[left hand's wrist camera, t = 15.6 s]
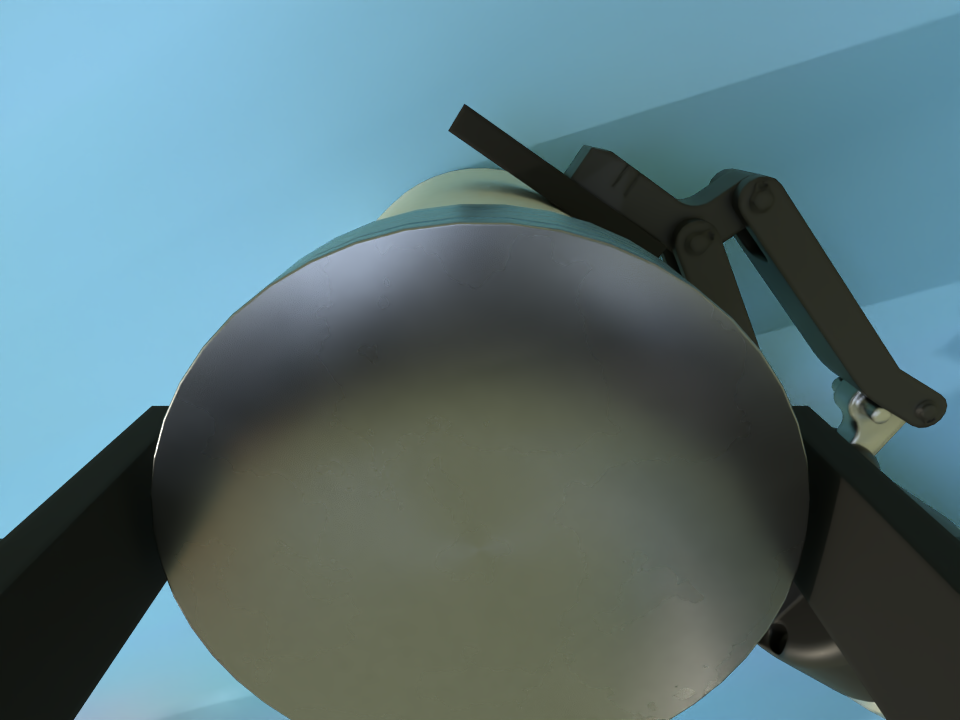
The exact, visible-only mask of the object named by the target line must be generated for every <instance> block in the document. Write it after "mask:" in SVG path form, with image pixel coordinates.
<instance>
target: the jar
mask: <svg viewBox="0 0 960 720" xmlns="http://www.w3.org/2000/svg"><path fill="white" fill-rule="evenodd" d="M458 204H505V205H512V206H519V207H526V208H533V209H540V210H547V211H551V212H555V213H558V214H562V215H565V216H569V217H572V216H571V215H569V214H568V213H566V212H565V211H563V210H562V209H561V208H559V207H558V206H556V205H555V204H553V203H552V202H550V201H549V200H548V199H546V198H545V197H543V196H542V195H540V194H539V193H537V192H536V191H535V190H533V189H532V188H530V187H529V186H527V185H526V184H524V183H523V182H522V181H520V180H519V179H517V178H516V177H514V176H513V175H511V174H510V173H509V172H507V171H504V170H497V169H488V168H474V169H463V170H457V171H451V172H448V173H444V174H441V175H438V176H435V177H433V178H430V179H428V180H426V181H424V182H422V183H420V184H418V185H417V186H415V187H413V188H412V189H410V190H409V191H407V192H406V193H404V194H403V195H402V196H401V197H400V198H399V199H397V200H396V201H395V202H394V203H393V204H392V205H391V206H390V207H389V208H388V209H387V210H386V211H385V212H384V213H383V214H382V215H381V216H380V217H379V218H378V219H377V220H381V219H384V218H388V217H392V216H396V215H399V214H403V213H407V212H410V211H414V210H419V209H427V208H435V207H442V206H450V205H458ZM572 218H573V217H572ZM377 220H376V221H377Z"/></svg>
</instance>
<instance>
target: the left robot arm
mask: <svg viewBox="0 0 960 720" xmlns="http://www.w3.org/2000/svg"><path fill="white" fill-rule="evenodd" d="M168 408H169V406H151V407H150V408H149V409H148V410H147V411H146V412H145V413H144V414H142V415H141V416H140V417H139V418H138V419H137V420H136V421H135V422H133V423H132V424H131V425H130V426H129V427H128V428H127V429H126V430H124V431H123V432H122V433H121V434H120V435H119V436H118V437H117V438H115V439H114V440H113V441H112V442H111V443H110V444H109V445H108V446H106V447H105V448H104V449H103V450H102V451H101V452H100V453H99V454H98V455H96V456H95V457H94V458H93V459H92V460H91V461H90V462H89V463H87V464H86V465H85V466H84V467H83V468H82V469H81V470H80V471H78V472H77V473H76V474H75V475H74V476H73V477H72V478H71V479H69V480H68V481H67V482H66V483H65V484H64V485H63V486H62V487H60V488H59V489H58V490H57V491H56V492H55V493H54V494H53V495H52V496H50V497H49V498H48V499H47V500H46V501H45V502H44V503H43V504H41V505H40V506H39V507H38V508H37V509H36V510H35V511H34V512H32V513H31V514H30V515H29V516H28V517H27V518H26V519H25V520H23V521H22V522H21V523H20V524H19V525H18V526H17V527H16V528H14V529H13V530H12V531H11V532H10V533H9V534H8V535H7V536H6V537H4V538H3V539H0V720H74V718H75V717H76V715H77V714H78V713H79V711H80V710H81V708H82V707H83V705H84V704H85V702H86V701H87V699H88V698H89V696H90V695H91V693H92V692H93V690H94V689H95V687H96V686H97V684H98V683H99V681H100V680H101V678H102V677H103V675H104V674H105V672H106V671H107V669H108V668H109V666H110V665H111V663H112V662H113V660H114V659H115V657H116V656H117V654H118V653H119V651H120V650H121V648H122V647H123V645H124V644H125V642H126V641H127V639H128V638H129V636H130V635H131V633H132V632H133V630H134V629H135V627H136V626H137V624H138V623H139V622H140V620H141V619H142V617H143V616H144V614H145V613H146V611H147V610H148V608H149V607H150V605H151V604H152V602H153V601H154V599H155V598H156V596H157V595H158V593H159V592H160V590H161V589H162V587H163V586H164V584H165V583H166V581H167V578H166V576H165V573H164V571H163V568H162V565H161V562H160V557H159V553H158V549H157V544H156V540H155V536H154V531H153V521H152V507H151V484H152V473H153V462H154V454H155V450H156V446H157V443H158V439H159V435H160V431H161V427H162V423H163V419H164V417H165V415H166V412H167V410H168ZM792 409H793V411H794V413H795V416H796V418H797V421H798V423H799V427H800V432H801V436H802V440H803V444H804V448H805V452H806V457H807V462H808V476H809V490H810V505H809V516H808V527H807V536H806V540H805V544H804V548H803V552H802V556H801V560H800V564H799V568H798V570H797V573H796V575H795V578H794V580H793V581H794V583H795V584H796V586H797V587H798V589H799V590H800V592H801V593H802V595H803V596H804V598H805V599H806V601H807V602H808V604H809V605H810V607H811V608H812V610H813V611H814V613H815V614H816V616H817V617H818V619H819V620H820V622H821V623H822V624H823V626H824V627H825V629H826V630H827V632H828V633H829V635H830V636H831V638H832V639H833V641H834V642H835V644H836V645H837V647H838V648H839V650H840V651H841V653H842V654H843V656H844V657H845V659H846V660H847V662H848V663H849V665H850V666H851V668H852V669H853V671H854V672H855V674H856V675H857V677H858V678H859V680H860V681H861V683H862V684H863V686H864V687H865V689H866V690H867V692H868V693H869V695H870V696H871V698H872V699H873V701H874V702H875V704H876V705H877V707H878V708H879V710H880V711H881V713H882V714H883V715H884V717H885V718H886V720H960V537H954V536H953V535H952V534H951V533H950V532H949V531H948V530H947V529H946V528H944V527H943V526H942V525H941V524H940V523H939V522H938V521H937V520H935V519H934V518H933V517H932V516H931V515H930V514H929V513H928V512H926V511H925V510H924V509H923V508H922V507H921V506H920V505H919V504H917V503H916V502H915V501H914V500H913V499H912V498H911V497H910V496H908V495H907V494H906V493H905V492H904V491H903V490H902V489H901V488H900V487H898V486H897V485H896V484H895V483H894V482H893V481H892V480H891V479H889V478H888V477H887V476H886V475H885V474H884V473H883V472H882V471H880V470H879V469H878V468H877V467H876V466H875V465H874V464H873V463H871V462H870V461H869V460H868V459H867V458H866V457H865V456H864V455H862V454H861V453H860V452H859V451H858V450H857V449H856V448H855V447H854V446H852V445H851V444H850V443H849V442H848V441H847V440H846V439H845V438H843V437H842V436H841V435H840V434H839V433H838V432H837V431H836V430H834V429H833V428H832V427H831V426H830V425H829V424H828V423H827V422H825V421H824V420H823V419H822V418H821V417H820V416H819V415H818V414H817V413H815V412H814V411H813V410H812V409H811V408H810V407H809V406H792Z"/></svg>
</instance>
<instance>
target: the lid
mask: <svg viewBox="0 0 960 720" xmlns="http://www.w3.org/2000/svg"><path fill="white" fill-rule="evenodd" d="M809 505H810V490H809V476H808V462H807V457H806V452H805V448H804V444H803V440H802V436H801V432H800V427H799V423H798V421H797V418H796V416H795V413H794V411H793V409H792V406H791V404H790V402H789V399H788V397H787V394H786V392H785V390H784V387H783V385H782V384H781V382H780V381H779V379H778V377H777V376H776V374H775V373H774V371H773V369H772V368H771V366H770V365H769V363H768V361H767V360H766V358H765V357H764V355H763V353H762V352H761V350H760V349H759V348H758V347H757V346H756V345H755V344H754V342H753V341H752V340H751V339H750V338H749V337H748V336H747V334H746V333H745V332H744V331H743V330H742V329H741V328H740V326H739V325H738V324H737V323H736V322H735V321H734V319H733V318H732V317H731V316H729V315H728V314H727V313H726V312H725V311H723V310H722V309H721V308H720V307H719V306H717V305H716V304H715V303H714V302H713V301H712V300H710V299H709V298H708V297H707V296H706V295H704V294H703V293H702V292H701V291H700V290H698V289H697V288H696V287H695V286H694V285H692V284H691V283H690V282H689V281H687V280H686V279H685V278H684V277H682V276H681V275H680V274H679V273H677V272H676V271H675V270H674V269H672V268H671V267H670V266H669V265H667V264H666V263H665V262H664V261H662V260H661V259H659V258H657V257H656V256H654V255H653V254H651V253H649V252H648V251H646V250H645V249H643V248H641V247H640V246H638V245H636V244H635V243H633V242H632V241H630V240H628V239H626V238H624V237H622V236H619V235H617V234H615V233H613V232H610V231H608V230H606V229H603V228H601V227H599V226H597V225H594V224H592V223H590V222H586V221H583V220H579V219H576V218H572V217H569V216H565V215H562V214H558V213H555V212H551V211H547V210H540V209H533V208H526V207H519V206H512V205H505V204H458V205H450V206H442V207H435V208H427V209H419V210H414V211H410V212H407V213H403V214H399V215H396V216H392V217H388V218H384V219H381V220H377V221H374V222H372V223H369V224H367V225H364V226H362V227H360V228H357V229H355V230H353V231H350V232H348V233H346V234H343V235H341V236H338V237H336V238H334V239H333V240H331V241H329V242H328V243H326V244H324V245H323V246H321V247H319V248H318V249H316V250H314V251H313V252H311V253H309V254H308V255H306V256H304V257H303V258H301V259H300V260H299V261H297V262H296V263H295V264H294V265H292V266H291V267H290V268H289V269H287V270H286V271H285V272H284V273H283V274H281V275H280V276H279V277H278V278H276V279H275V280H274V281H273V282H271V283H270V284H269V285H268V286H266V287H265V288H264V289H263V290H262V291H260V292H259V293H258V294H257V295H255V296H254V297H253V298H252V299H250V300H249V301H248V302H247V303H246V304H244V305H243V306H242V307H241V308H239V309H238V310H237V311H236V312H235V313H233V314H232V315H231V316H230V317H229V319H228V320H227V321H226V322H225V323H224V324H223V325H222V326H221V327H220V328H219V330H218V331H217V332H216V333H215V334H214V335H213V336H212V337H211V338H210V340H209V341H208V342H207V343H206V344H205V345H204V346H203V347H202V349H201V350H200V352H199V354H198V355H197V357H196V358H195V360H194V361H193V363H192V364H191V366H190V367H189V369H188V370H187V372H186V373H185V375H184V377H183V378H182V380H181V381H180V383H179V385H178V387H177V390H176V392H175V394H174V397H173V399H172V401H171V403H170V406H169V408H168V410H167V412H166V415H165V417H164V419H163V423H162V427H161V431H160V435H159V439H158V443H157V446H156V450H155V454H154V462H153V473H152V484H151V507H152V521H153V531H154V536H155V540H156V544H157V549H158V553H159V557H160V562H161V565H162V568H163V571H164V573H165V576H166V578H167V581H168V583H169V586H170V588H171V591H172V593H173V596H174V598H175V600H176V602H177V603H178V605H179V607H180V609H181V610H182V612H183V614H184V616H185V617H186V619H187V621H188V623H189V625H190V626H191V628H192V629H193V631H194V632H195V633H196V634H197V636H198V637H199V638H200V640H201V641H202V642H203V644H204V645H205V646H206V648H207V649H208V650H209V652H210V653H211V654H212V655H213V657H214V658H215V659H216V660H217V661H218V662H219V663H220V664H221V665H222V666H223V667H224V668H225V669H226V670H227V671H228V672H229V673H230V674H231V675H232V676H233V677H234V678H235V679H236V680H237V681H238V682H239V683H241V684H242V685H243V686H244V687H246V688H247V689H248V690H249V691H250V692H252V693H253V694H254V695H255V696H257V697H258V698H259V699H260V700H262V701H263V702H264V703H266V704H267V705H269V706H270V707H272V708H273V709H275V710H276V711H278V712H280V713H281V714H283V715H284V716H286V717H287V718H289V719H290V720H670V719H672V718H673V717H675V716H676V715H678V714H679V713H681V712H683V711H684V710H686V709H687V708H689V707H691V706H692V705H694V704H695V703H696V702H698V701H699V700H700V699H701V698H703V697H704V696H705V695H706V694H708V693H709V692H710V691H711V690H713V689H714V688H715V687H717V686H718V685H719V684H720V683H722V682H723V681H724V680H725V679H726V678H727V677H728V676H729V675H730V674H731V673H732V672H733V671H734V670H735V669H736V668H737V667H738V666H739V665H740V664H741V663H742V662H743V661H744V660H745V659H746V657H747V656H748V655H749V654H750V652H751V651H752V650H753V648H754V647H755V646H756V645H757V643H758V642H759V641H760V639H761V638H762V637H763V636H764V634H765V633H766V632H767V630H768V629H769V627H770V625H771V624H772V622H773V620H774V618H775V617H776V615H777V613H778V612H779V610H780V608H781V607H782V605H783V603H784V601H785V599H786V597H787V595H788V592H789V590H790V587H791V585H792V582H793V580H794V578H795V575H796V573H797V570H798V568H799V564H800V560H801V556H802V552H803V548H804V544H805V540H806V536H807V527H808V516H809Z"/></svg>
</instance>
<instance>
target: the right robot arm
mask: <svg viewBox="0 0 960 720" xmlns="http://www.w3.org/2000/svg"><path fill="white" fill-rule="evenodd" d="M448 131H449V132H451V133H452V134H454V135H455V136H457V137H458V138H459V139H461V140H462V141H464V142H465V143H467V144H468V145H470V146H471V147H472V148H474V149H475V150H477V151H478V152H480V153H481V154H483V155H484V156H485V157H487V158H488V159H490V160H491V161H493V162H494V163H496V164H497V165H498V166H500V167H501V168H503V169H504V170H506V171H507V172H509V173H510V174H511V175H513V176H514V177H516V178H517V179H519V180H520V181H522V182H523V183H524V184H526V185H527V186H529V187H530V188H532V189H533V190H535V191H536V192H537V193H539V194H540V195H542V196H543V197H545V198H546V199H548V200H549V201H550V202H552V203H553V204H555V205H556V206H558V207H559V208H561V209H562V210H563V211H565V212H566V213H568V214H569V215H571V216H572V217H573V218H576V219H579V220H583V221H586V222H590V223H592V224H594V225H597V226H599V227H601V228H603V229H606V230H608V231H610V232H613V233H615V234H617V235H619V236H622V237H624V238H626V239H628V240H630V241H632V242H633V243H635V244H636V245H638V246H640V247H641V248H643V249H645V250H646V251H648V252H649V253H651V254H653V255H654V256H656V257H657V258H659V257H660V256H662V259H663V261H664V262H665V263H666V264H667V265H669V266H670V267H671V268H672V269H674V270H675V271H676V272H677V273H679V274H680V275H681V276H682V277H684V278H685V279H686V280H687V281H689V282H690V283H691V284H692V285H694V286H695V287H696V288H697V289H698V290H700V291H701V292H702V293H703V294H704V295H706V296H707V297H708V298H709V299H710V300H712V301H713V302H714V303H715V304H716V305H717V306H719V307H720V308H721V309H722V310H723V311H725V312H726V313H727V314H728V315H729V316H731V317H732V318H733V319H734V321H735V322H736V323H737V324H738V325H739V326H740V328H741V329H742V330H743V331H744V332H745V333H746V334H747V336H748V337H749V338H750V339H751V340H752V341H753V342H754V344H755V345H756V346H757V347H758V348H759V345H758V343H757V340H756V337H755V334H754V331H753V328H752V325H751V323H750V320H749V317H748V314H747V311H746V308H745V306H744V303H743V300H742V297H741V294H740V291H739V289H738V286H737V283H736V280H735V277H734V274H733V271H732V269H731V266H730V263H729V260H728V257H727V254H726V252H725V249H724V246H723V242H725V241H726V240H728V239H729V238H731V237H732V236H734V237H735V239H736V240H737V242H738V243H739V245H740V246H741V247H742V249H743V250H744V252H745V253H746V255H747V256H748V258H749V259H750V261H751V262H752V263H753V265H754V266H755V268H756V269H757V271H758V272H759V274H760V275H761V276H762V278H763V279H764V281H765V282H766V284H767V285H768V287H769V288H770V290H771V291H772V292H773V294H774V295H775V297H776V298H777V300H778V301H779V303H780V304H781V305H782V307H783V308H784V310H785V311H786V313H787V314H788V316H789V317H790V319H791V320H792V321H793V323H794V324H795V326H796V327H797V329H798V330H799V332H800V333H801V334H802V336H803V337H804V339H805V340H806V342H807V343H808V345H809V346H810V348H811V349H812V350H813V352H814V353H815V354H816V356H817V357H818V358H819V359H820V361H821V362H822V363H823V364H824V365H825V366H826V367H828V368H829V369H830V370H831V371H832V372H834V373H835V374H836V375H838V376H839V377H838V378H836V379H835V380H834V381H833V383H832V389H833V391H835V392H834V401H835V403H836V404H837V406H838V407H839V408H840V409H841V411H842V414H843V419H842V422H841V424H840V426H839V427H838V428H833V429H834V430H836V431H837V432H838V433H839V434H840V435H841V436H842V437H843V438H845V439H846V440H847V441H848V442H849V443H850V444H851V445H852V446H854V447H855V448H856V449H857V450H858V451H859V452H860V453H861V454H862V455H864V456H865V457H866V458H867V459H868V460H869V461H870V462H871V463H873V464H874V465H875V466H876V467H877V468H878V469H879V470H880V467H879V464H878V461H877V459H876V458H875V455H876V454H877V453H878V452H879V450H880V449H881V448H882V447H883V446H884V445H885V444H886V443H887V442H888V441H889V440H890V439H891V438H892V437H893V435H894V434H895V433H896V432H897V431H898V430H899V429H900V428H901V427H902V426H903V425H904V424H905V423H906V422H907V423H908V424H910V425H912V426H915V427H918V428H924V427H929V426H931V425H934V424H935V423H937V422H938V421H939V420H941V418H942V417H943V415H944V414H945V412H946V408H947V403H946V399H945V398H944V397H943V396H942V395H941V394H939V393H938V392H936V391H934V390H933V389H931V388H930V387H928V386H926V385H925V384H923V383H921V382H920V381H918V380H917V379H915V378H913V377H912V376H910V375H909V374H907V373H905V372H904V371H902V370H900V369H899V367H898V366H897V364H896V363H895V361H894V359H893V358H892V356H891V355H890V353H889V352H888V350H887V348H886V347H885V345H884V344H883V342H882V341H881V339H880V338H879V336H878V334H877V333H876V331H875V330H874V328H873V327H872V325H871V323H870V322H869V320H868V319H867V317H866V316H865V314H864V313H863V311H862V309H861V308H860V306H859V305H858V303H857V302H856V300H855V299H854V297H853V295H852V294H851V292H850V291H849V289H848V288H847V286H846V284H845V283H844V281H843V280H842V278H841V277H840V275H839V274H838V272H837V270H836V269H835V267H834V266H833V264H832V263H831V261H830V259H829V258H828V256H827V255H826V253H825V252H824V250H823V249H822V247H821V245H820V244H819V242H818V241H817V239H816V238H815V236H814V235H813V233H812V231H811V230H810V228H809V227H808V225H807V224H806V222H805V220H804V219H803V217H802V216H801V214H800V213H799V211H798V210H797V208H796V206H795V205H794V203H793V202H792V200H791V199H790V197H789V195H788V194H787V192H786V191H785V189H784V188H783V186H782V185H781V184H780V183H779V182H778V181H777V180H776V179H775V178H771V177H768V176H764V175H760V174H756V173H751V172H746V171H742V170H736V169H725V170H723V171H721V172H719V173H717V174H716V175H715V176H714V177H713V178H712V179H711V181H710V184H709V185H708V186H707V187H705V188H704V189H702V190H701V191H699V192H698V193H697V194H695V195H693V196H691V197H689V198H685V199H676V198H674V197H673V196H672V195H670V194H669V193H667V192H666V191H665V190H663V189H662V188H661V187H659V186H658V185H656V184H655V183H654V182H652V181H651V180H650V179H648V178H647V177H646V176H644V175H643V174H641V173H640V172H639V171H637V170H636V169H635V168H633V167H632V166H630V165H629V164H628V163H626V162H625V161H624V160H622V159H621V158H620V157H618V156H617V155H615V154H614V153H613V152H611V151H607V150H604V149H600V148H595V147H591V146H586V145H583V147H582V148H581V150H580V151H579V153H578V154H577V156H576V157H575V158H574V160H573V161H572V163H571V164H570V166H569V167H568V169H567V170H566V172H565V173H564V174H563V173H562V172H560V171H559V170H557V169H556V168H555V167H553V166H552V165H550V164H549V163H548V162H546V161H545V160H543V159H542V158H540V157H539V156H538V155H536V154H535V153H533V152H532V151H531V150H529V149H528V148H526V147H525V146H523V145H522V144H521V143H519V142H518V141H516V140H515V139H514V138H512V137H511V136H509V135H508V134H507V133H505V132H504V131H502V130H501V129H499V128H498V127H497V126H495V125H494V124H492V123H491V122H490V121H488V120H487V119H485V118H484V117H483V116H481V115H480V114H478V113H477V112H475V111H474V110H473V109H471V108H470V107H468V106H467V105H465V104H464V105H463V107H462V109H461V110H460V112H459V114H458V115H457V117H456V119H455V120H454V122H453V124H452V125H451V127H450V129H449V130H448ZM759 349H760V348H759ZM880 471H881V470H880ZM896 485H897V484H896ZM897 486H898V485H897ZM898 487H900V486H898ZM900 488H901V487H900ZM901 489H902V490H903V491H904V492H905V493H906V494H907V495H908V496H910V497H911V498H912V499H913V500H914V501H915V502H916V503H917V504H919V505H920V506H921V507H922V508H923V509H924V510H925V511H926V512H928V513H929V514H930V515H931V516H932V517H933V518H934V519H935V520H937V521H938V522H939V523H940V524H941V525H942V526H943V527H944V528H946V529H947V530H948V531H949V532H950V533H951V534H952V535H953V536H954V537H960V527H958V526H956V525H955V524H954V523H953V522H951V521H950V520H949V519H947V518H946V517H945V516H943V515H942V514H940V513H939V512H937V511H936V510H934V509H933V508H931V507H930V506H928V505H927V504H925V503H924V502H922V501H921V500H919V499H918V498H916V497H915V496H913V495H912V494H910V493H909V492H907V491H906V490H904V489H903V488H901ZM757 644H758V645H759V646H760V647H762V648H763V649H764V650H766V651H767V652H768V653H770V654H771V655H773V656H774V657H776V658H778V659H779V660H781V661H783V662H785V663H787V664H788V665H790V666H792V667H794V668H796V669H797V670H799V671H801V672H803V673H805V674H806V675H808V676H810V677H812V678H814V679H815V680H817V681H819V682H821V683H823V684H824V685H826V686H828V687H830V688H832V689H833V690H835V691H837V692H839V693H841V694H843V695H845V696H847V697H849V698H850V699H852V700H854V701H855V702H857V703H858V704H860V705H861V706H863V707H865V708H866V709H868V710H869V711H871V712H873V713H875V714H877V715H879V716H881V717H883V718H885V717H884V715H883V714H882V713H881V711H880V710H879V708H878V707H877V705H876V704H875V702H874V701H873V699H872V698H871V696H870V695H869V693H868V692H867V690H866V689H865V687H864V686H863V684H862V683H861V681H860V680H859V678H858V677H857V675H856V674H855V672H854V671H853V669H852V668H851V666H850V665H849V663H848V662H847V660H846V659H845V657H844V656H843V654H842V653H841V651H840V650H839V648H838V647H837V645H836V644H835V642H834V641H833V639H832V638H831V636H830V635H829V633H828V632H827V630H826V629H825V627H824V626H823V624H822V623H821V622H820V620H819V619H818V617H817V616H816V614H815V613H814V611H813V610H812V608H811V607H810V605H809V604H808V602H807V601H806V599H805V598H804V596H803V595H802V593H801V592H800V590H799V589H798V587H797V586H796V584H795V583H794V581H793V582H792V585H791V587H790V590H789V592H788V595H787V597H786V599H785V601H784V603H783V605H782V607H781V608H780V610H779V612H778V613H777V615H776V617H775V618H774V620H773V622H772V624H771V625H770V627H769V629H768V630H767V632H766V633H765V634H764V636H763V637H762V638H761V639H760V641H759V642H758V643H757ZM885 719H886V718H885Z"/></svg>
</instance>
